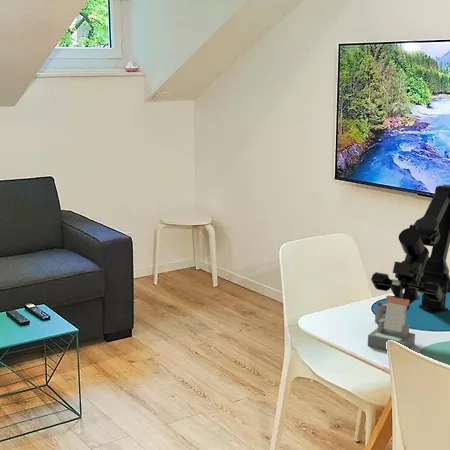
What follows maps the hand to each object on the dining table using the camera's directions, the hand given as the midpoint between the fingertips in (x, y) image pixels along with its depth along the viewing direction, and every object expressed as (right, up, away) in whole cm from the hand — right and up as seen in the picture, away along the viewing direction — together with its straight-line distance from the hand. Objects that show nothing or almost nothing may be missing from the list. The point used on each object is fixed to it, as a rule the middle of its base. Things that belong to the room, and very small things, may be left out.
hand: (397, 313), depth 193 cm
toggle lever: (-1, -5, -1) cm, 5 cm away
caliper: (+4, -3, +23) cm, 23 cm away
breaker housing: (-1, -8, 0) cm, 8 cm away
